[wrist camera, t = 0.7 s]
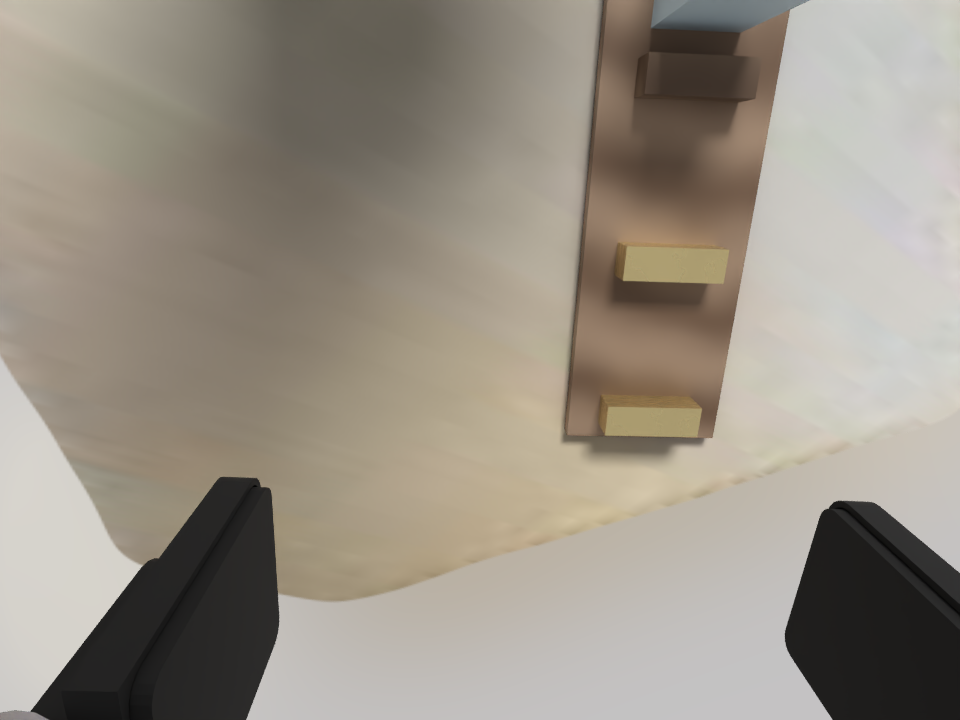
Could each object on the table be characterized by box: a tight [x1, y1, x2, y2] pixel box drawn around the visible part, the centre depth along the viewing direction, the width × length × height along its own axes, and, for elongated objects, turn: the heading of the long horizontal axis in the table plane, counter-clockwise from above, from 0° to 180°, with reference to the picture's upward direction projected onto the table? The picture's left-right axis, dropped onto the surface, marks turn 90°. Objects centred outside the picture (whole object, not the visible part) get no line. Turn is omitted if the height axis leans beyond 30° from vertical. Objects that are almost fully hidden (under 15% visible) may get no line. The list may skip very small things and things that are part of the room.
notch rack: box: [565, 0, 790, 438], centre depth 34 cm, size 34×10×3 cm, turn 178°
